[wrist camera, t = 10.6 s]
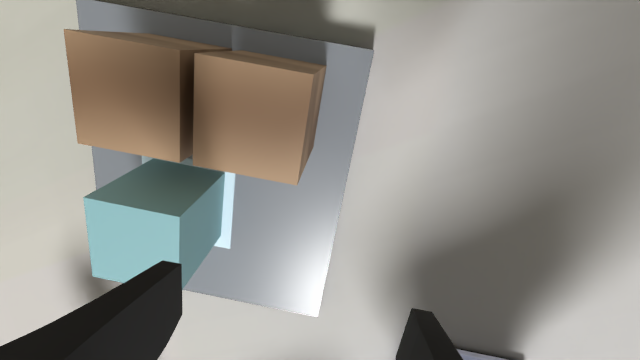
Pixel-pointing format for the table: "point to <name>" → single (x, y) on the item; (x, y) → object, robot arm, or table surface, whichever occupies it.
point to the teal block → (154, 219)
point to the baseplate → (255, 193)
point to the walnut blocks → (194, 102)
